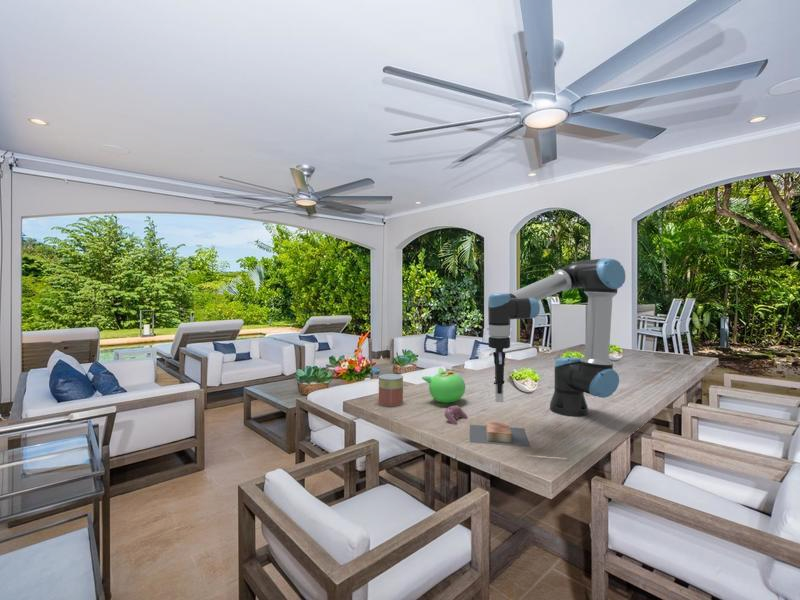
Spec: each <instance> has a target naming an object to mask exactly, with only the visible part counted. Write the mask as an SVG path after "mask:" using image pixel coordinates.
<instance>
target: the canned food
mask: <svg viewBox="0 0 800 600" xmlns="http://www.w3.org/2000/svg"><path fill="white" fill-rule="evenodd" d="M403 404H404V375H402V374H398V373H384V374H380V375H379V376H378V405H381V406H385V407H397V406H401V405H403Z"/></svg>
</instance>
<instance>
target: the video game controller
mask: <svg viewBox="0 0 800 600" xmlns="http://www.w3.org/2000/svg"><path fill="white" fill-rule="evenodd" d="M444 416H445V418H446V420H447V421H448V422H449V423H450V424H451V425H458V423H457V422H458V421H457V420H459V419H460V418H462V419H466V420H467V419H468V415H467V413H466V412H464V411H463V409H462V407H460V406H459V405H451V406H449V407H448V408H447V409H446V410H445V411H444Z"/></svg>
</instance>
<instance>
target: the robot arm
mask: <svg viewBox="0 0 800 600" xmlns="http://www.w3.org/2000/svg"><path fill="white" fill-rule="evenodd" d="M625 282H626V271H625V268H624V266H623V265H622V264H621V262H620V261H618V260H617V259H614V258H597V259H596V258H595V259H583V260H579V261H575V262H573V263H571V264H568V265H566V266H564V267H562V268H559V269H556V271H554V273H553V274H551V275H549V276H547V277H545V278H541V279H540V280H537V281H535V282H533V283H530V284H528V285H526V286H523V287H521V288H519V289H517V290H514V291H512V292H509V293H507V292H505V293H502V292H501V293H495V292H494V293H490V294H489V295H488V301H487V308H488V310H487V311H488V315H487V316H488V321H487V322H488V326H487V327H486V330H487V331H488V347H489V348H491V349H495V351H493V354H492V356H493V363H494V379H495V380H494V382H493V385H494V386H495V388H494V389H495V391H494V393H495V394H494V395H495V398H494V399H495V401H494V402H496V403H504V383H506V381H505V379H504V378H505V365H506V364H505V361H506V360H505V359H506V353H505V351H504V349H505V350H506V349H510V347H511V337H510V336H511V320H520V319H521V320H522V319H523V320H529V319H535V318H537V317H538V316H539V315H540V311H541V310H540V309H541V306H540V303H539V301H541V300H544V299H545V298H548V297H550V296H553V295H555V294H557V293H560V292H562V291H563V292H567V291H570V290H575V289H584V291H583V293H584V294H585V295H586V296H587V298H588V299H587V309H586V312H587V313H586V327H585V328H586V329H585V330H586V331H585V343H584V345H585V346H584V356H583V357H578V356H577V357H572V356H571V357H569V356H568V357H558V358H557V359H555V362H554V389H553V390H554V391H553V394H552V397H551V399H550V402H549V410H550V411H551V412H554V413H556V414H559V415H563V416H569V417H570V416H571V417H582V416H587V414H588V413H589V407H588V404H587V401H586V397H585V393H586V394H588V395H591V396H592V397H597V398H609V397H611V396H612V395H613V394H614V393H615V392H616V391H617V390H618V387H619V384H620V377H619V374H618V372H617V371H616V370H615V369H614V368H613V366H614V364H613V362H612V360H611V359H610V345H611V344H610V343H611V329H612V327H611V326H612V314H613V313H612V311H613V310H612V309H613V299H614V297H615V296H617V294H618V289H620V288H622V287H623V285H624V284H625Z"/></svg>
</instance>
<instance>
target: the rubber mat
mask: <svg viewBox="0 0 800 600" xmlns="http://www.w3.org/2000/svg"><path fill="white" fill-rule="evenodd" d="M510 430H511V434H512V437H511V442H497V441H487V432H486V425H479V424H469V443H473V444H474V443H475V444H486V445H500V446H510V447H511V446H513V447H527V448H528V447H529V448H531V447H532V446H531V444H530V441H529V439H528V436H527V433H526V429H525V428H523V427H512V426H511V427H510Z"/></svg>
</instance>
